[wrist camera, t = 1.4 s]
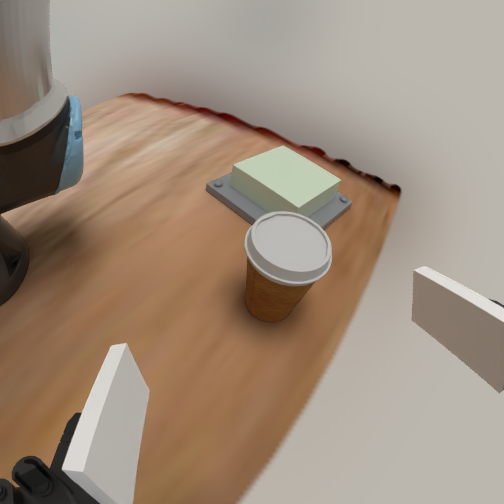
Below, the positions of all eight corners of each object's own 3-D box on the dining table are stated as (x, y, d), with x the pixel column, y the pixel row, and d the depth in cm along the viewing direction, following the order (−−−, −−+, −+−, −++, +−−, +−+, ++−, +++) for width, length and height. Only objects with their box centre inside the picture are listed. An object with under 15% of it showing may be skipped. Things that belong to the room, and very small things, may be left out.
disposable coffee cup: (294, 272, 43) (320, 209, 34) (310, 330, 37) (348, 273, 28) (229, 273, 41) (240, 207, 32) (238, 336, 35) (254, 277, 26)
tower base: (205, 190, 53) (208, 162, 48) (275, 159, 64) (280, 136, 60) (292, 255, 45) (303, 227, 41) (350, 207, 57) (361, 183, 52)
